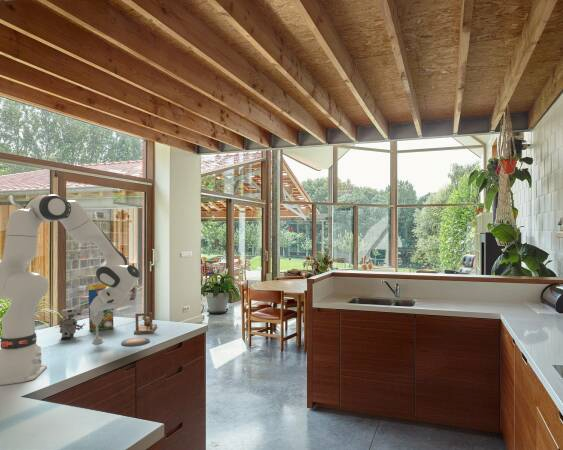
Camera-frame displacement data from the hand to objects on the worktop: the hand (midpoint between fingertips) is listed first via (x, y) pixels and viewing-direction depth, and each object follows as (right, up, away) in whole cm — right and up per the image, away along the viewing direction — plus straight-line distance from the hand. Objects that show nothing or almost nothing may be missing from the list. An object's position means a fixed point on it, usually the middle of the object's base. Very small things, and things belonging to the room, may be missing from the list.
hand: (103, 312), depth 208 cm
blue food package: (-14, -16, +31) cm, 37 cm away
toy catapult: (+13, -15, +25) cm, 32 cm away
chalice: (-4, -15, +2) cm, 16 cm away
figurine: (-22, -16, +14) cm, 30 cm away
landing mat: (+16, -14, 0) cm, 21 cm away
